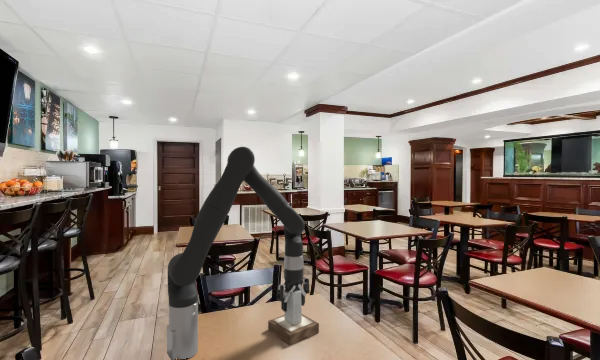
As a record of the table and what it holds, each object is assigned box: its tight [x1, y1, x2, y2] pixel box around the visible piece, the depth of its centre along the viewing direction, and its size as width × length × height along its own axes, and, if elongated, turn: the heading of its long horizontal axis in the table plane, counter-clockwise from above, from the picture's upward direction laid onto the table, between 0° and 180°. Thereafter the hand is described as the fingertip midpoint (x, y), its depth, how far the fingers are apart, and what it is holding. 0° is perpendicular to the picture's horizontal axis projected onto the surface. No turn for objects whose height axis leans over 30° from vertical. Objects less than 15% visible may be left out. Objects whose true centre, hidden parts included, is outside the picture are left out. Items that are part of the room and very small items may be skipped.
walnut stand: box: [267, 313, 320, 346], centre depth 119 cm, size 14×14×4 cm
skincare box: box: [284, 290, 303, 325], centre depth 119 cm, size 6×4×12 cm
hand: (293, 308), depth 119 cm, fingers open, 8 cm apart
